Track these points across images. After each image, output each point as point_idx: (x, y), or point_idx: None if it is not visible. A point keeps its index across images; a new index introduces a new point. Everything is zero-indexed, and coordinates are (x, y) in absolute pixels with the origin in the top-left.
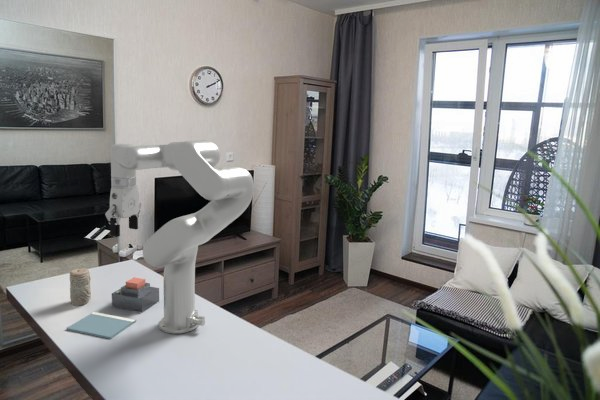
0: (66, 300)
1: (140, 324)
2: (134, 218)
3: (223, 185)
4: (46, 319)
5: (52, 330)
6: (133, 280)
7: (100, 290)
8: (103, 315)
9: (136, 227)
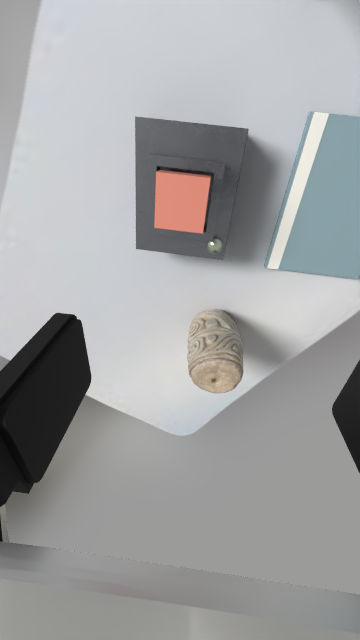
0: None
1: (331, 79)
2: (10, 437)
3: None
4: (301, 338)
5: (356, 302)
6: (182, 212)
7: (142, 319)
8: (286, 233)
9: (70, 327)
